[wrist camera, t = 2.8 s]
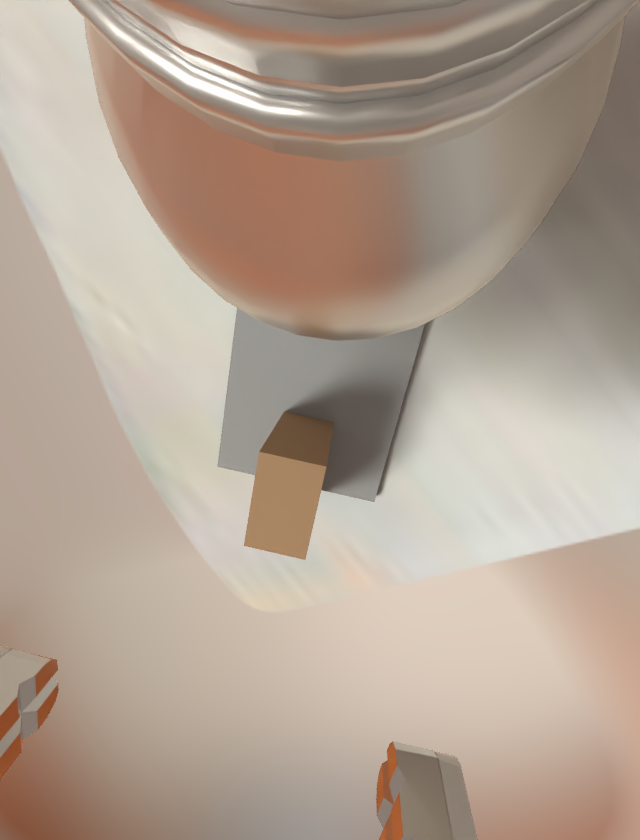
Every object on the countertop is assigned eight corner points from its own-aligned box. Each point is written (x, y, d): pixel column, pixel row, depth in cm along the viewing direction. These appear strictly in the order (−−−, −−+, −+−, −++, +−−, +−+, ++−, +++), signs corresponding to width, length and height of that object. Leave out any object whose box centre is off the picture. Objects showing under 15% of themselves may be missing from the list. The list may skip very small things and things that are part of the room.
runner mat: (268, 82, 18) (221, -30, 12) (479, 124, 18) (546, 33, 11) (219, 470, 24) (173, 529, 18) (372, 504, 24) (377, 576, 18)
